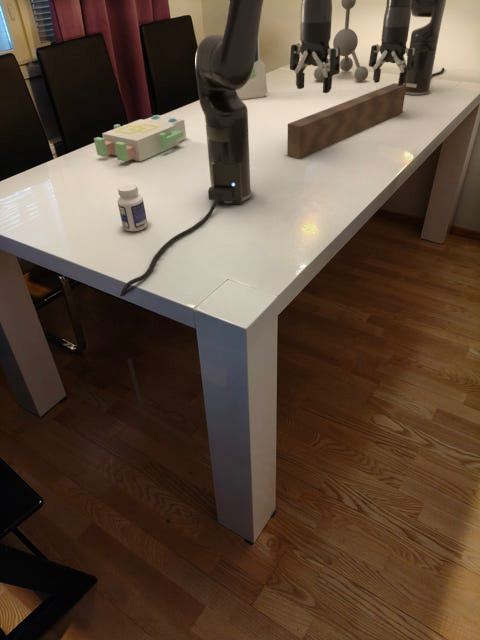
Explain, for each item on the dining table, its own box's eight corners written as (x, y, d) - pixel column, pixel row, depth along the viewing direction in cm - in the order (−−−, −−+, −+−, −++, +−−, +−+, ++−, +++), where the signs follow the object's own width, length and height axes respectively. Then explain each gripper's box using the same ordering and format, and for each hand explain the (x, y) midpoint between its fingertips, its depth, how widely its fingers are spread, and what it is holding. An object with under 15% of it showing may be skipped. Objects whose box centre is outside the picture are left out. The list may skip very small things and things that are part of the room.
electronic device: (236, 100, 185) (231, 6, 166) (231, 95, 191) (226, 5, 172) (267, 96, 187) (266, 3, 169) (261, 92, 193) (260, 2, 174)
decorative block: (146, 110, 155) (194, 118, 145) (149, 131, 159) (196, 140, 149) (83, 133, 139) (132, 144, 129) (88, 156, 143) (136, 168, 133)
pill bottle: (149, 220, 107) (142, 181, 102) (146, 231, 103) (138, 191, 98) (125, 221, 107) (116, 182, 102) (121, 232, 103) (112, 193, 98)
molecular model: (302, 76, 212) (304, -7, 193) (348, 70, 216) (355, -11, 198) (326, 87, 194) (331, -3, 175) (375, 81, 198) (385, -8, 180)
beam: (299, 158, 133) (300, 126, 128) (287, 155, 136) (287, 123, 130) (402, 112, 162) (406, 84, 157) (390, 110, 165) (394, 83, 160)
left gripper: (349, 18, 117) (343, 91, 127) (302, 15, 125) (300, 84, 135) (330, 22, 113) (326, 97, 123) (283, 19, 121) (283, 89, 131)
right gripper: (425, 23, 141) (415, 84, 151) (381, 21, 150) (375, 79, 159) (412, 26, 137) (402, 89, 147) (368, 24, 146) (362, 83, 155)
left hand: (313, 90), depth 129 cm, fingers open, 8 cm apart
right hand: (388, 83), depth 153 cm, fingers open, 8 cm apart
